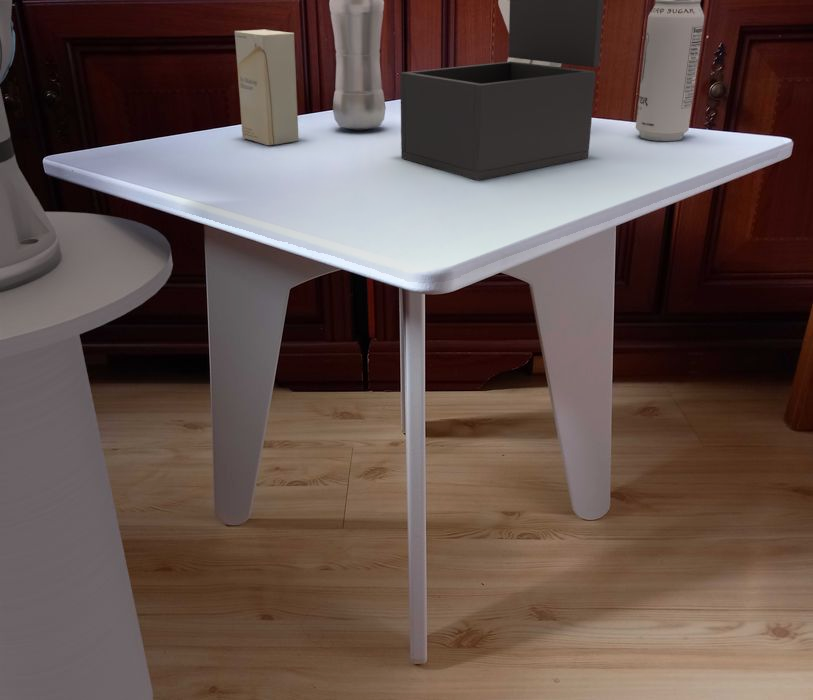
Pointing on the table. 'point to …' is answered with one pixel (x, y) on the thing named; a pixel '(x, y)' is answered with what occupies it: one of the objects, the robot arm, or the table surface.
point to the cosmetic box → (267, 86)
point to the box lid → (556, 31)
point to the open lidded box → (496, 117)
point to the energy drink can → (669, 69)
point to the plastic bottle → (358, 63)
